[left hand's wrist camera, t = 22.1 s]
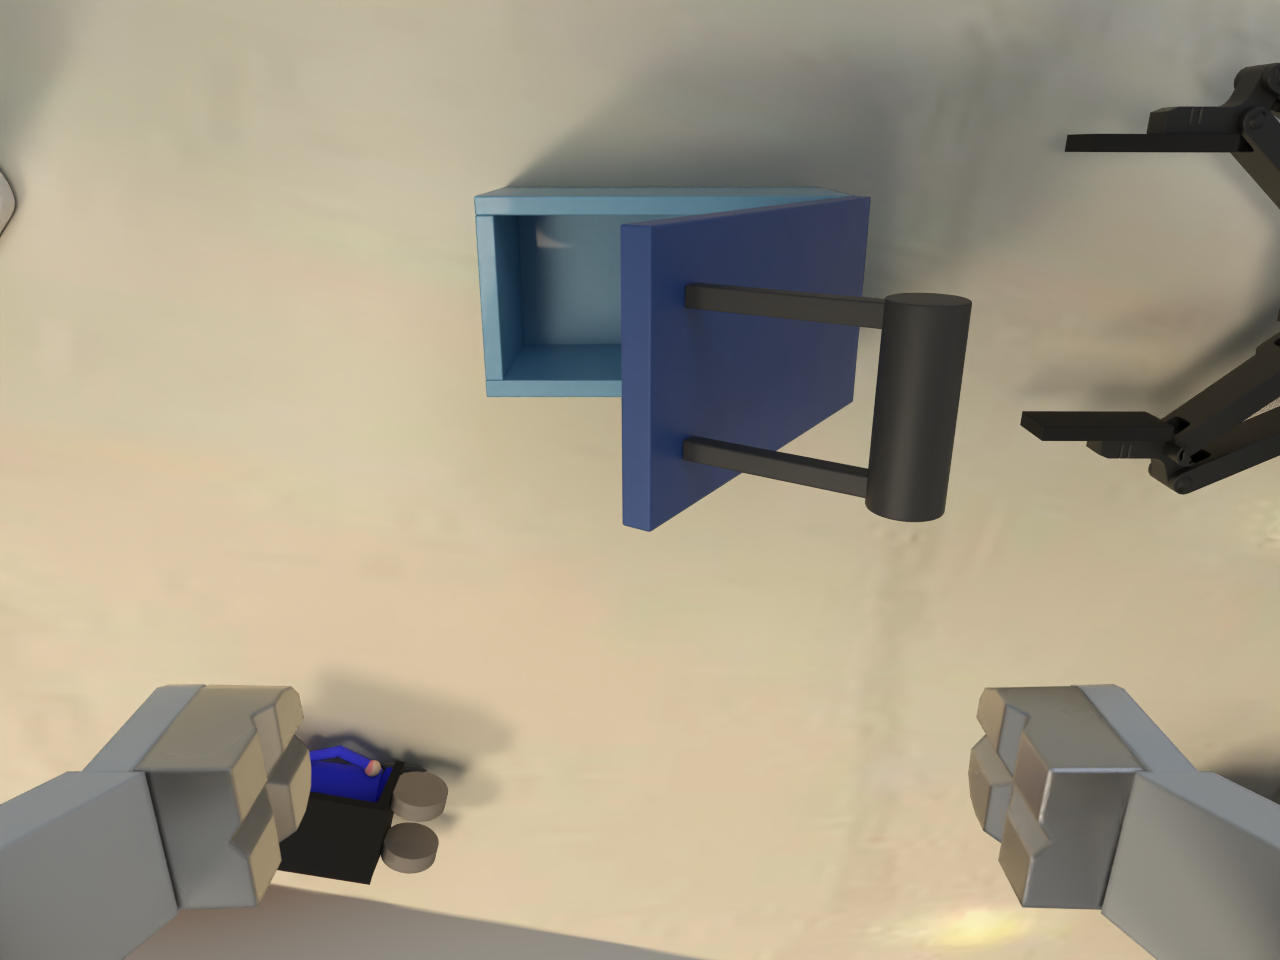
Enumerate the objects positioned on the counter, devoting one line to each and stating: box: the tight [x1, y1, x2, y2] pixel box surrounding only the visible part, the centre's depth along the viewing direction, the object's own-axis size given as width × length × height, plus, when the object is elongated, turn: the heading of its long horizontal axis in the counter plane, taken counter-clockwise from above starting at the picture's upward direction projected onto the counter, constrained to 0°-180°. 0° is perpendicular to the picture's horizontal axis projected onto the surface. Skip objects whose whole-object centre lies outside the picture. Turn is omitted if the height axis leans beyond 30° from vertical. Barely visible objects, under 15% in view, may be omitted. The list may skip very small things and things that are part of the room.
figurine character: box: [277, 745, 448, 885], centre depth 58 cm, size 7×8×15 cm
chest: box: [474, 187, 854, 397], centre depth 45 cm, size 17×9×9 cm, turn 90°
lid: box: [620, 196, 972, 532], centre depth 31 cm, size 18×9×9 cm
